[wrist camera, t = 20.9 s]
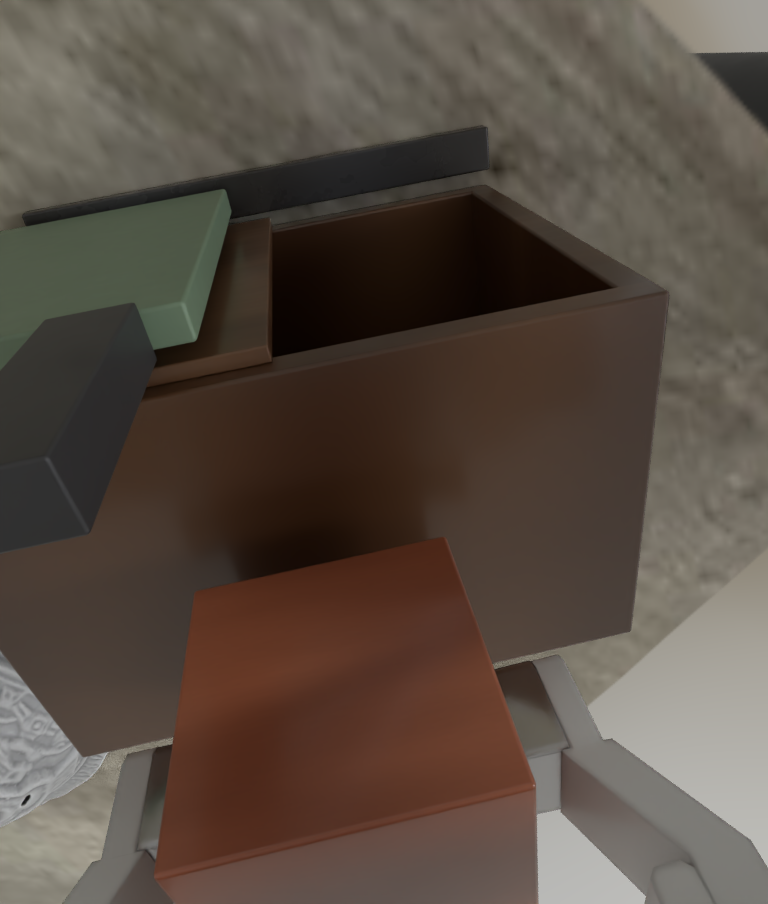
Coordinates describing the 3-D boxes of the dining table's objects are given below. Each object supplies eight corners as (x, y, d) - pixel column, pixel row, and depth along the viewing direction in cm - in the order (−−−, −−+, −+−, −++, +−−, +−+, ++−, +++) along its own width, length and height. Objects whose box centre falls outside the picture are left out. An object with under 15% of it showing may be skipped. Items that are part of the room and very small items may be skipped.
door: (223, 182, 18) (122, 441, 6) (233, 217, 18) (159, 521, 6) (-27, 230, 17) (-695, 610, 5) (-10, 264, 18) (-579, 680, 6)
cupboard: (483, 124, 19) (684, 186, 10) (498, 420, 25) (632, 632, 16) (25, 211, 18) (-225, 365, 9) (154, 493, 24) (82, 759, 15)
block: (445, 534, 11) (538, 786, 7) (464, 688, 14) (540, 934, 10) (193, 589, 11) (150, 879, 7) (260, 736, 13) (256, 1006, 10)
